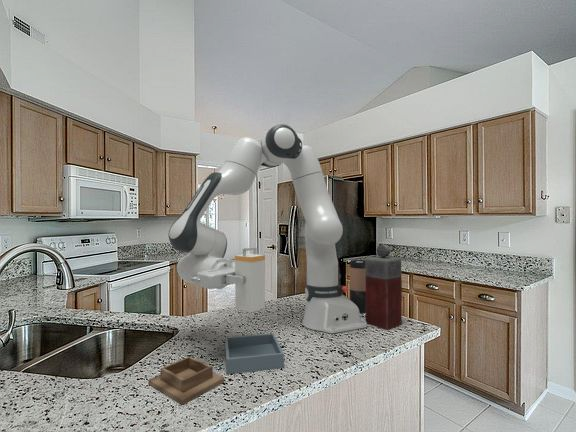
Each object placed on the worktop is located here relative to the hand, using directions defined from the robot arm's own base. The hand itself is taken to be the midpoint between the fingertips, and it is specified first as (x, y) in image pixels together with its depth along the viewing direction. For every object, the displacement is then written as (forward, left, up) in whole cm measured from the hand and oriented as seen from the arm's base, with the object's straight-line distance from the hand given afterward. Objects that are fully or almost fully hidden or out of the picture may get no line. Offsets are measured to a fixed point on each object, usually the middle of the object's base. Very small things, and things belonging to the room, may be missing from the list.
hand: (252, 278), depth 81 cm
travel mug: (-47, -34, -22) cm, 62 cm away
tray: (0, -1, -22) cm, 22 cm away
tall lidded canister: (+1, -1, -8) cm, 8 cm away
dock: (+16, +8, -22) cm, 28 cm away
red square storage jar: (-49, -18, -22) cm, 57 cm away
